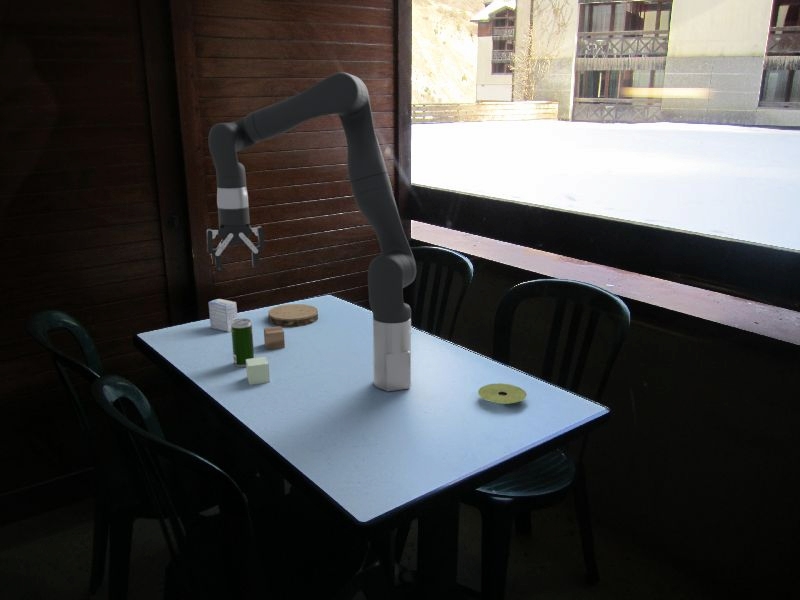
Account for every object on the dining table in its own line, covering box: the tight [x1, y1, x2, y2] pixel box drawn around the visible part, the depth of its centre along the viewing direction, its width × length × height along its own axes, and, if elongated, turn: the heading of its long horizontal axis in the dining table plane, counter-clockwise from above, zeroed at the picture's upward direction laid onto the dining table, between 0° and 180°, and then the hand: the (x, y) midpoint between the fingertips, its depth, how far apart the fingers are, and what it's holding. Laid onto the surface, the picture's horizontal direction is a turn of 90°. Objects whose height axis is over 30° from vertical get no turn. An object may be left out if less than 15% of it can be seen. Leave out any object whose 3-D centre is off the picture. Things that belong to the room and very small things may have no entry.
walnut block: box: [263, 326, 286, 351], centre depth 189 cm, size 5×5×5 cm
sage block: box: [245, 356, 271, 386], centre depth 166 cm, size 5×5×5 cm
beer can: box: [230, 318, 255, 368], centre depth 175 cm, size 5×5×12 cm
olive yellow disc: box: [477, 382, 528, 405], centre depth 154 cm, size 11×11×2 cm
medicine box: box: [208, 298, 239, 333], centre depth 204 cm, size 8×4×9 cm, turn 58°
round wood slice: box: [267, 303, 319, 328], centre depth 214 cm, size 16×16×3 cm
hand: (237, 268), depth 169 cm, fingers open, 8 cm apart
